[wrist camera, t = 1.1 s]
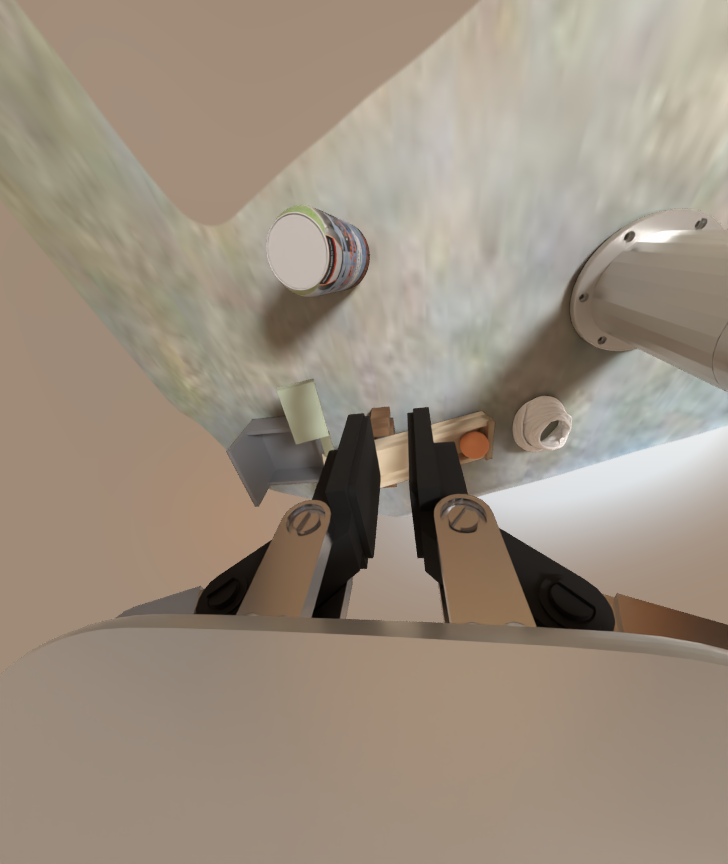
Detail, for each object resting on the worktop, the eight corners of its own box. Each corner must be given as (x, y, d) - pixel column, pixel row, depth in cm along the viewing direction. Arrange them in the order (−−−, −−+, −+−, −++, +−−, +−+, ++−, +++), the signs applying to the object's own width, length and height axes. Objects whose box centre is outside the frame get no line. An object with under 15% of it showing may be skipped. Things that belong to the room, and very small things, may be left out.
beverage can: (359, 296, 33) (341, 322, 23) (297, 270, 33) (251, 286, 23) (380, 233, 30) (369, 233, 20) (311, 202, 29) (264, 186, 19)
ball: (480, 423, 39) (495, 437, 36) (479, 445, 41) (493, 460, 38) (455, 430, 39) (468, 444, 36) (455, 451, 41) (467, 467, 38)
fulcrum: (391, 406, 41) (390, 427, 36) (399, 462, 46) (398, 486, 42) (370, 408, 41) (366, 429, 37) (380, 463, 47) (377, 487, 42)
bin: (316, 413, 43) (300, 445, 36) (332, 467, 48) (321, 504, 42) (252, 419, 45) (226, 451, 38) (274, 470, 50) (255, 506, 43)
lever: (479, 334, 35) (501, 342, 32) (475, 445, 44) (491, 461, 41) (277, 383, 33) (276, 398, 29) (315, 490, 42) (317, 512, 38)
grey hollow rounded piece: (510, 394, 39) (518, 410, 35) (569, 386, 37) (585, 403, 33) (511, 445, 43) (518, 465, 39) (564, 440, 41) (579, 461, 37)
